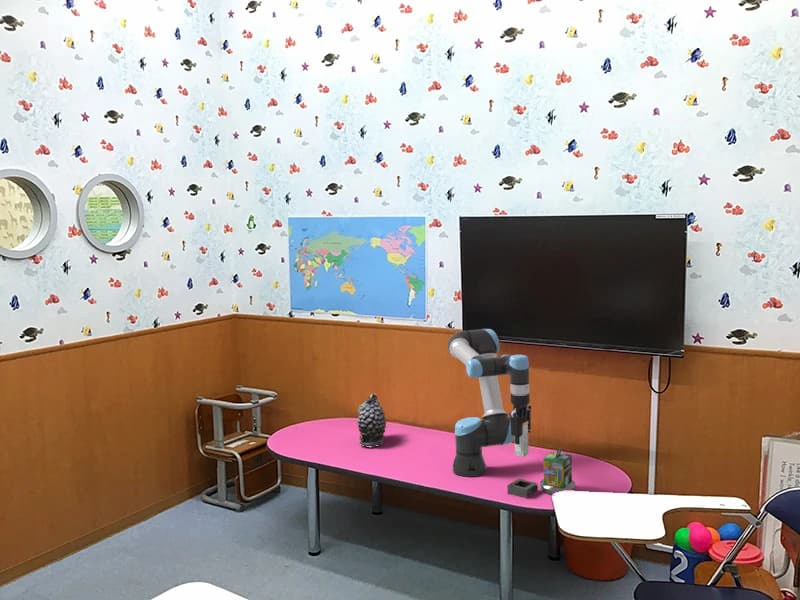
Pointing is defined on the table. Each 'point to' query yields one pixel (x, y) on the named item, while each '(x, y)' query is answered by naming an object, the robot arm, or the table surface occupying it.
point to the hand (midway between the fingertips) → (521, 449)
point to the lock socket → (522, 488)
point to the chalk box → (558, 469)
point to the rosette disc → (553, 489)
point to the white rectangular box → (523, 439)
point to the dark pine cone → (371, 422)
